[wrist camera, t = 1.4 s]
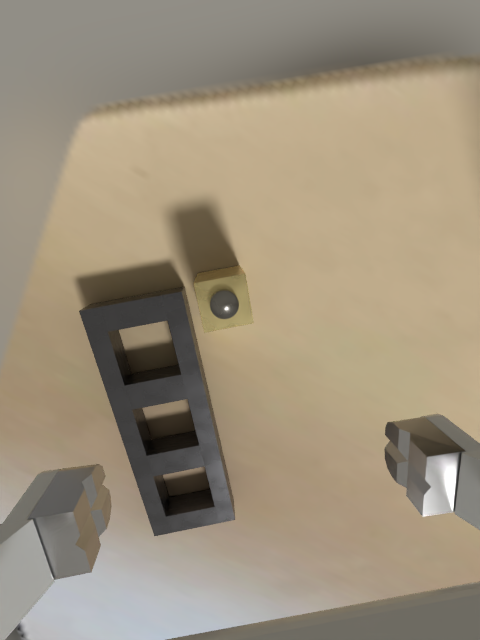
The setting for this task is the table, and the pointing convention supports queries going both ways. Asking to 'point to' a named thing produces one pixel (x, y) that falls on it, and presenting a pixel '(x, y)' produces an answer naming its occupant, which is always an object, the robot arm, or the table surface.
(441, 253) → the table surface
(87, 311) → the grey flat slotted block
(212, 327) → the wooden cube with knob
